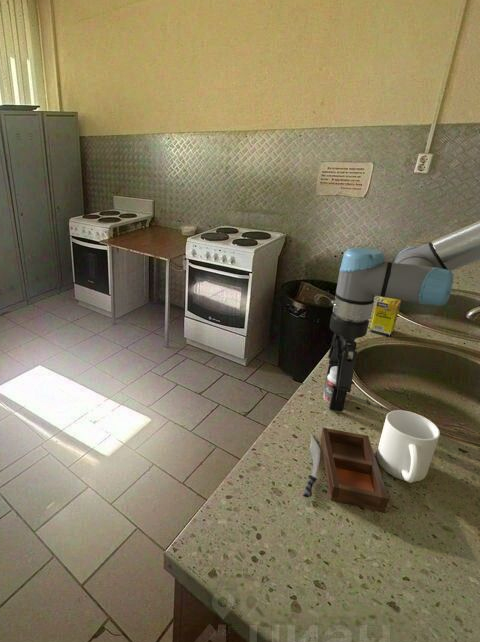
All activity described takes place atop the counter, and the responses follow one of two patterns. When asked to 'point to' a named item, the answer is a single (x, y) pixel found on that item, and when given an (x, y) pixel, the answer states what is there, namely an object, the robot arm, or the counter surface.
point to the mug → (407, 445)
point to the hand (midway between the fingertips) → (333, 398)
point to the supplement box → (385, 315)
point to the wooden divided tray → (352, 470)
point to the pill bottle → (330, 384)
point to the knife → (316, 459)
